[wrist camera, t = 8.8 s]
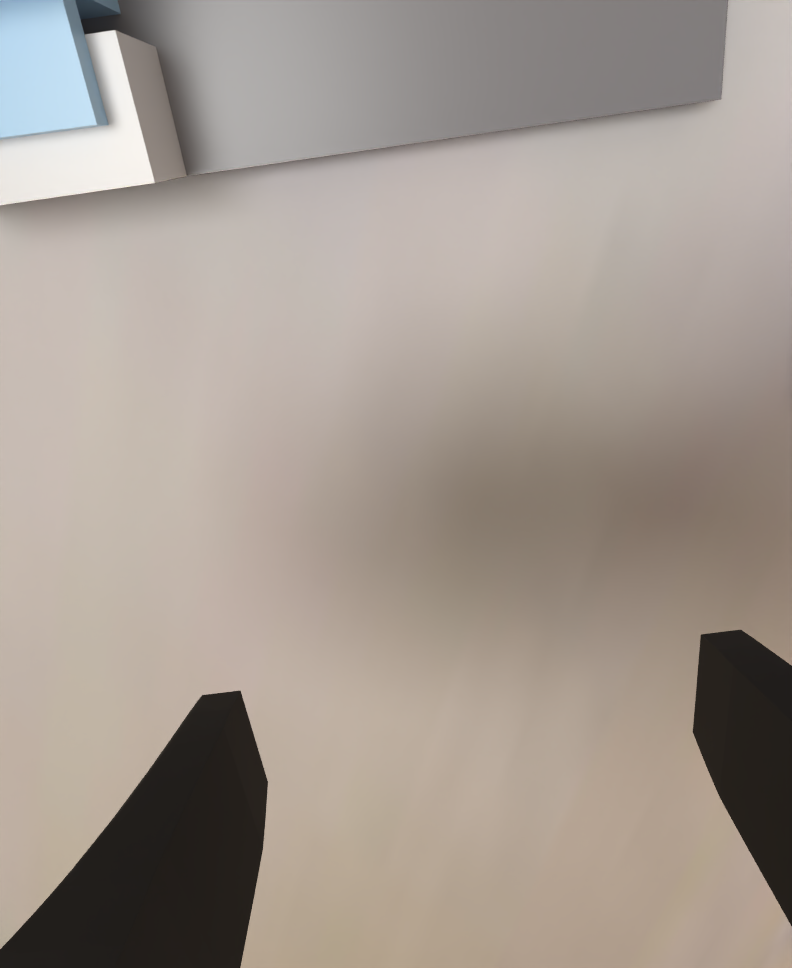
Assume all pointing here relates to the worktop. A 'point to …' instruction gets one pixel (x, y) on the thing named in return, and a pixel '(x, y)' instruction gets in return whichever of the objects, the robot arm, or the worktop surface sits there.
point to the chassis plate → (356, 80)
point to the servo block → (48, 67)
